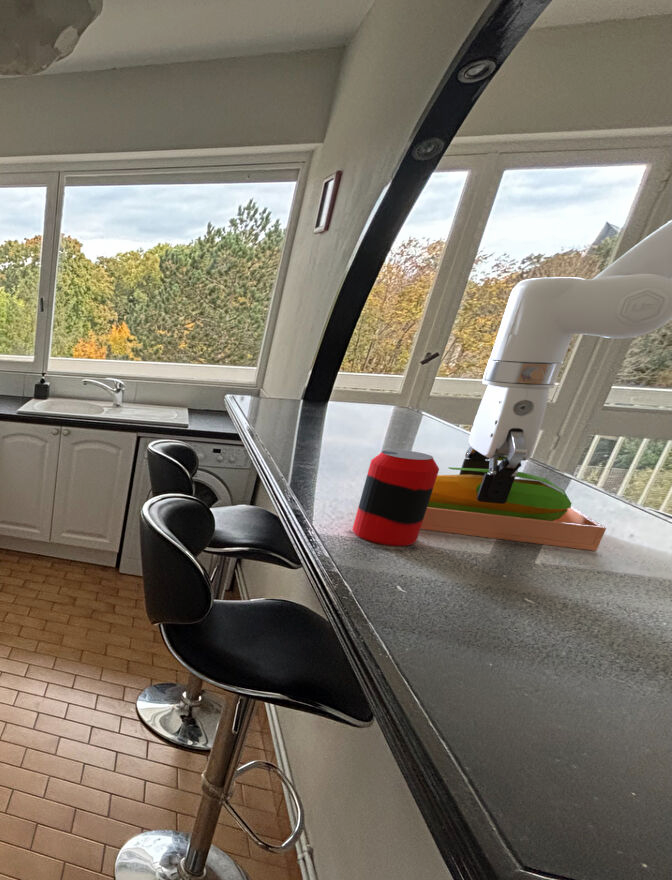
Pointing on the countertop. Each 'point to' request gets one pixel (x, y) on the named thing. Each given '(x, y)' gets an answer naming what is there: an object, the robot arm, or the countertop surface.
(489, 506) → the corn
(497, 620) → the countertop surface
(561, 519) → the pan
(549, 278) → the robot arm
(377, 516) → the soda can
